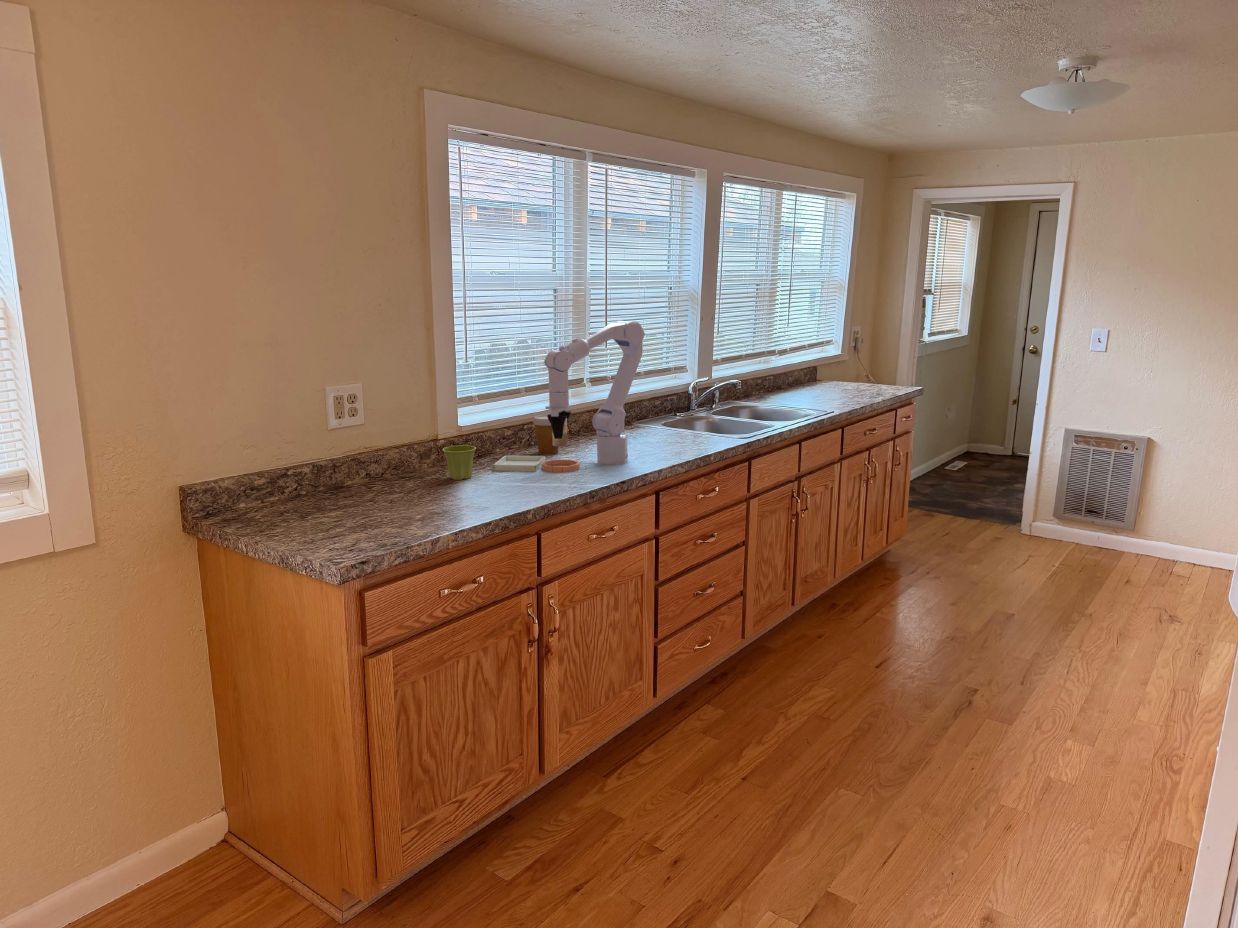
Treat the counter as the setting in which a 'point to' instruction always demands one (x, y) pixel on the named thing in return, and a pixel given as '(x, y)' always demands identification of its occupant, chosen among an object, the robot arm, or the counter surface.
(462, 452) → the plant pot
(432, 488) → the counter surface
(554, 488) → the counter surface
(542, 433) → the disposable coffee cup
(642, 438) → the counter surface
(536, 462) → the grey green tray
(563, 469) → the terracotta dish
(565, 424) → the birch cylinder
